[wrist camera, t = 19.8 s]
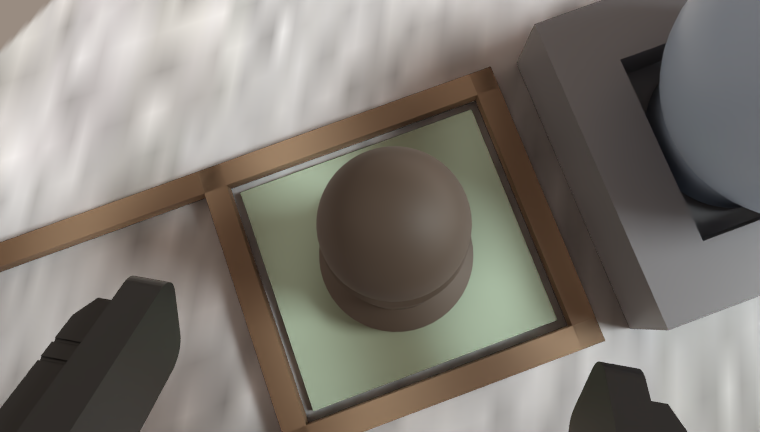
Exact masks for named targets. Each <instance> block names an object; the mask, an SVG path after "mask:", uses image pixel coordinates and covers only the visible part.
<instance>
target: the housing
mask: <svg viewBox="0 0 760 432" xmlns="http://www.w3.org/2000/svg"><path fill="white" fill-rule="evenodd" d="M686 2H687V0H601V1H599V2H596V3H593V4H590V5H587V6H585V7H582V8H579V9H576V10H573V11H571V12H568V13H565V14H562V15H559V16H557V17H554V18H551V19H548V20H545V21H543V22H540V23H537V24H535V25H534V27H533V29H532V31H531V33H530V36H529V38H528V40H527V42H526V44H525V46H524V48H523V50H522V53H521V55H520V57H519V59H518V61H517V65H518V67H519V70H520V72H521V74H522V77H523V79H524V81H525V84H526V86H527V89H528V91H529V93H530V96H531V98H532V100H533V103H534V105H535V107H536V110H537V112H538V114H539V117H540V119H541V121H542V124H543V126H544V128H545V131H546V133H547V135H548V138H549V140H550V142H551V145H552V147H553V149H554V152H555V154H556V157H557V159H558V161H559V164H560V166H561V168H562V171H563V173H564V175H565V178H566V180H567V182H568V185H569V187H570V189H571V192H572V194H573V196H574V199H575V201H576V203H577V206H578V208H579V210H580V213H581V215H582V217H583V220H584V222H585V224H586V227H587V229H588V232H589V234H590V236H591V239H592V241H593V243H594V246H595V248H596V250H597V253H598V255H599V257H600V260H601V262H602V264H603V267H604V269H605V271H606V274H607V276H608V278H609V281H610V283H611V285H612V288H613V290H614V292H615V295H616V297H617V299H618V302H619V304H620V307H621V309H622V311H623V314H624V316H625V318H626V321H627V323H628V325H629V328H630V329H652V330H670V329H673V328H676V327H678V326H681V325H684V324H686V323H689V322H691V321H694V320H697V319H699V318H702V317H705V316H707V315H710V314H713V313H715V312H718V311H721V310H723V309H726V308H729V307H731V306H734V305H737V304H739V303H742V302H745V301H747V300H750V299H753V298H755V297H758V296H760V213H758V212H755V211H752V210H749V209H746V208H744V207H742V208H724V207H717V206H712V205H708V204H705V203H702V202H700V201H697V200H695V199H693V198H691V197H689V196H687V195H686V194H684V193H683V192H681V191H680V189H679V187H678V185H677V183H676V181H675V179H674V176H673V174H672V172H671V170H670V168H669V165H668V163H667V161H666V159H665V157H664V154H663V152H662V150H661V148H660V146H659V144H658V141H657V139H656V137H655V135H654V133H653V130H652V128H651V126H650V124H649V122H648V119H647V117H646V112H647V107H648V104H649V101H650V98H651V96H652V94H653V92H654V90H655V88H656V87H657V86H658V84H659V82H660V69H661V64H662V58H663V53H664V48H665V45H666V42H667V39H668V36H669V33H670V31H671V29H672V27H673V25H674V23H675V21H676V19H677V17H678V15H679V13H680V11H681V9H682V7H683V6H684V5H685V3H686Z"/></svg>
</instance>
